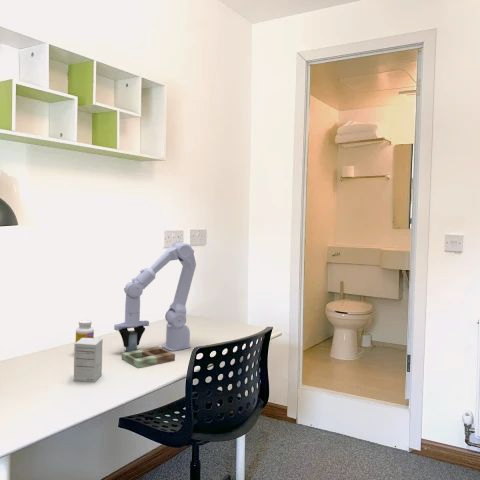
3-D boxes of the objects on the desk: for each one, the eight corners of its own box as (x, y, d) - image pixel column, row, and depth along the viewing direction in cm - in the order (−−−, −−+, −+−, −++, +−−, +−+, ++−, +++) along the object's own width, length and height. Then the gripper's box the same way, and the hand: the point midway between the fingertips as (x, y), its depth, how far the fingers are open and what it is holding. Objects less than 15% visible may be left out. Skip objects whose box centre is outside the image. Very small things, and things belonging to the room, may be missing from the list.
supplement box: (80, 373, 163) (82, 337, 162) (102, 374, 163) (103, 338, 162) (72, 381, 156) (73, 343, 155) (95, 382, 155) (96, 344, 155)
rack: (157, 352, 191) (157, 346, 190) (174, 360, 182) (175, 353, 182) (121, 359, 180) (121, 353, 180) (138, 368, 171) (138, 361, 171)
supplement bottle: (87, 357, 180) (88, 324, 180) (71, 355, 182) (72, 322, 181) (96, 352, 187) (97, 320, 186) (80, 350, 188) (81, 318, 188)
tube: (133, 349, 194) (134, 330, 193) (139, 352, 190) (139, 332, 190) (123, 351, 191) (123, 331, 190) (128, 354, 187) (129, 334, 187)
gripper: (143, 308, 197) (142, 340, 198) (111, 312, 188) (109, 346, 188) (152, 311, 192) (151, 344, 193) (119, 315, 182) (118, 350, 183)
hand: (131, 345), depth 190 cm, fingers closed on tube, 4 cm apart
